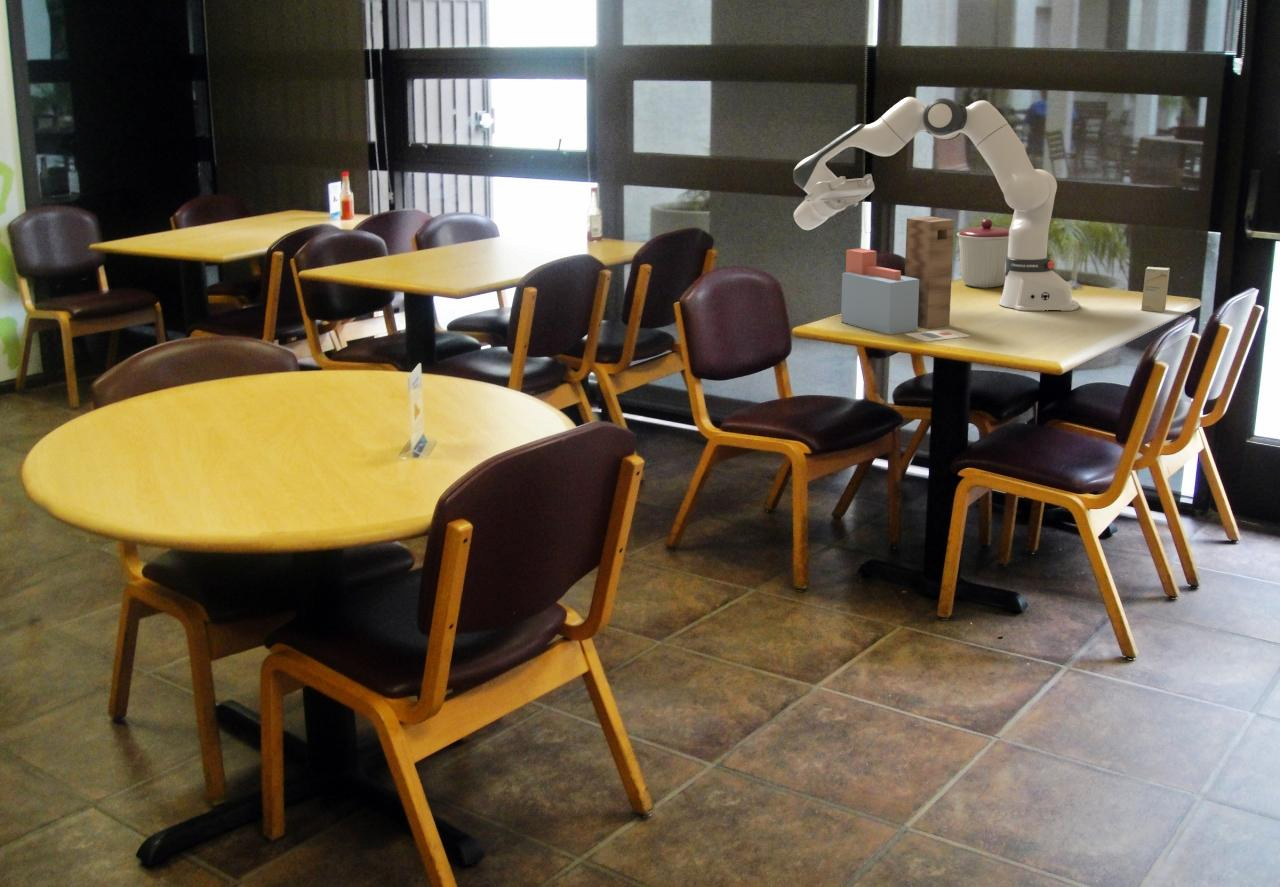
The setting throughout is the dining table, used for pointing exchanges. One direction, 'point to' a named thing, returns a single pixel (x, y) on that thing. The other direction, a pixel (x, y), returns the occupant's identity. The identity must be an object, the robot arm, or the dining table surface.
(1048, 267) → the robot arm
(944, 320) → the stand
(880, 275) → the peg brick
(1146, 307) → the skincare box
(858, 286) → the base block
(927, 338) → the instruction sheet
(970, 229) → the canister
